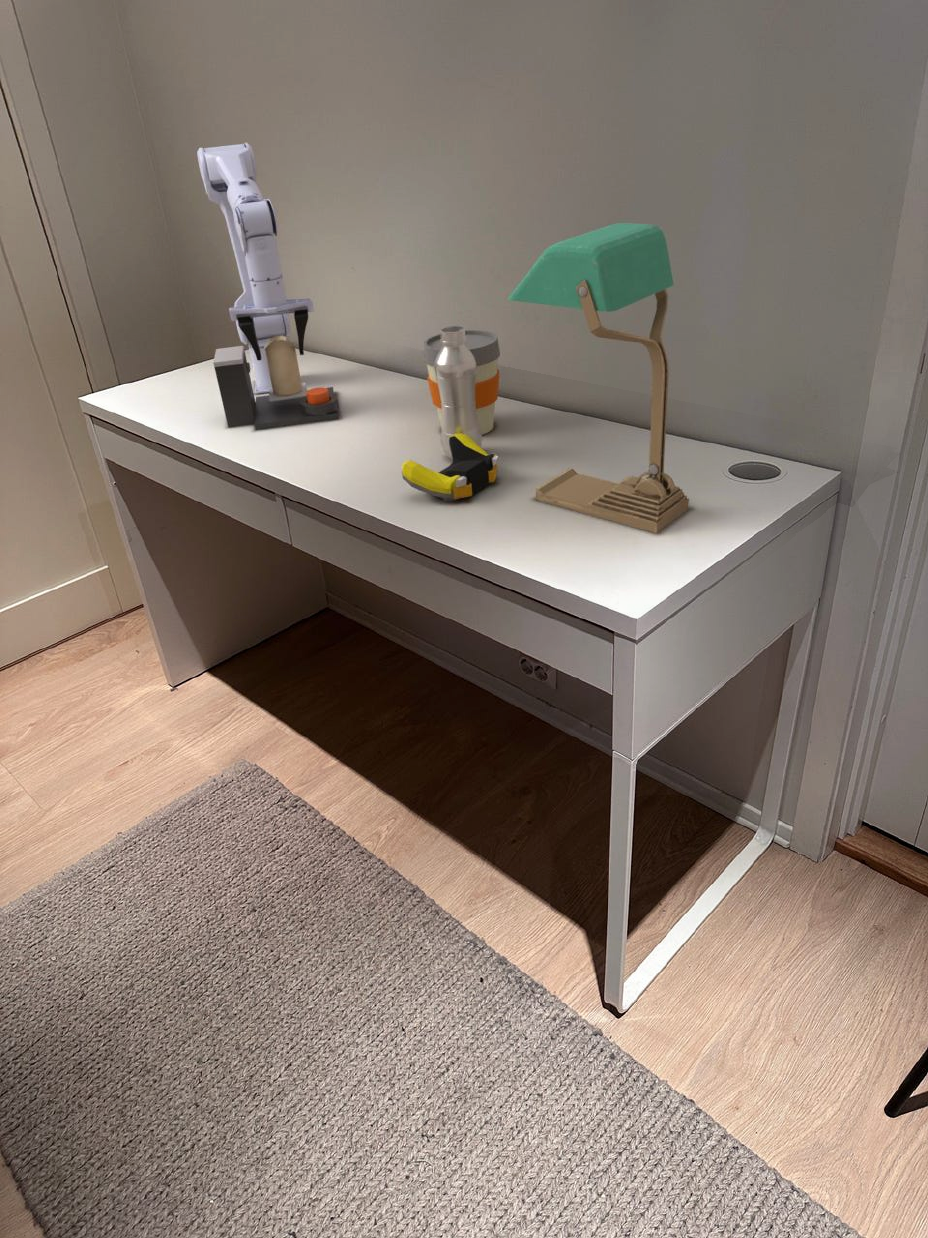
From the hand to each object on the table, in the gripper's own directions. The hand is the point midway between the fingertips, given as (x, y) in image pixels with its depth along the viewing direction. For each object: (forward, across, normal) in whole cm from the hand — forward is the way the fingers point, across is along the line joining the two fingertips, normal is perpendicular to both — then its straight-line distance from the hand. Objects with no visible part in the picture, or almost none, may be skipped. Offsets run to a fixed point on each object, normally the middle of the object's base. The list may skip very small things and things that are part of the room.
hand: (280, 356), depth 159 cm
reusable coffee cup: (+11, +30, -21) cm, 38 cm away
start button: (+8, +5, -5) cm, 11 cm away
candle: (+7, 0, +2) cm, 8 cm away
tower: (+10, -4, +1) cm, 11 cm away
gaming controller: (+11, +24, -44) cm, 51 cm away
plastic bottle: (+11, +27, -33) cm, 44 cm away
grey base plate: (+10, +1, 0) cm, 10 cm away
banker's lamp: (+11, +43, -57) cm, 72 cm away
